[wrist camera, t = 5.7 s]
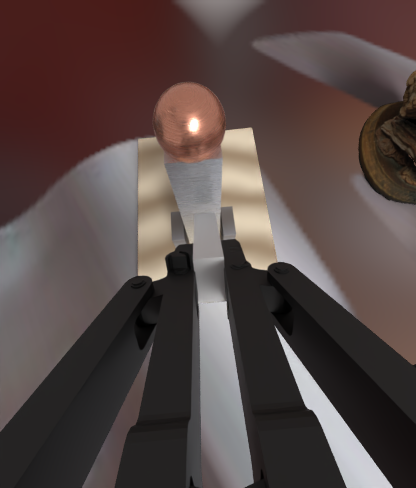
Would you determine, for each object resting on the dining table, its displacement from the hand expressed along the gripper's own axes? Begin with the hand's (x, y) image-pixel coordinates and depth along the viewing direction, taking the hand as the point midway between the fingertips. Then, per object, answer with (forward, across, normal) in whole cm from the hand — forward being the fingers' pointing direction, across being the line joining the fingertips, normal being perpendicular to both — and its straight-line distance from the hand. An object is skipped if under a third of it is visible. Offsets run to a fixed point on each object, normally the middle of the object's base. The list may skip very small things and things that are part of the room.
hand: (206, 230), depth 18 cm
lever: (+7, 0, -3) cm, 8 cm away
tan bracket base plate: (+14, 0, -3) cm, 15 cm away
